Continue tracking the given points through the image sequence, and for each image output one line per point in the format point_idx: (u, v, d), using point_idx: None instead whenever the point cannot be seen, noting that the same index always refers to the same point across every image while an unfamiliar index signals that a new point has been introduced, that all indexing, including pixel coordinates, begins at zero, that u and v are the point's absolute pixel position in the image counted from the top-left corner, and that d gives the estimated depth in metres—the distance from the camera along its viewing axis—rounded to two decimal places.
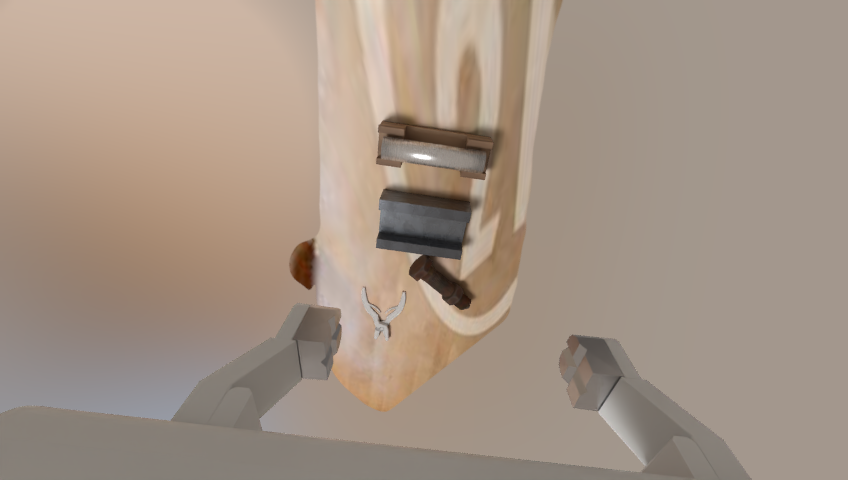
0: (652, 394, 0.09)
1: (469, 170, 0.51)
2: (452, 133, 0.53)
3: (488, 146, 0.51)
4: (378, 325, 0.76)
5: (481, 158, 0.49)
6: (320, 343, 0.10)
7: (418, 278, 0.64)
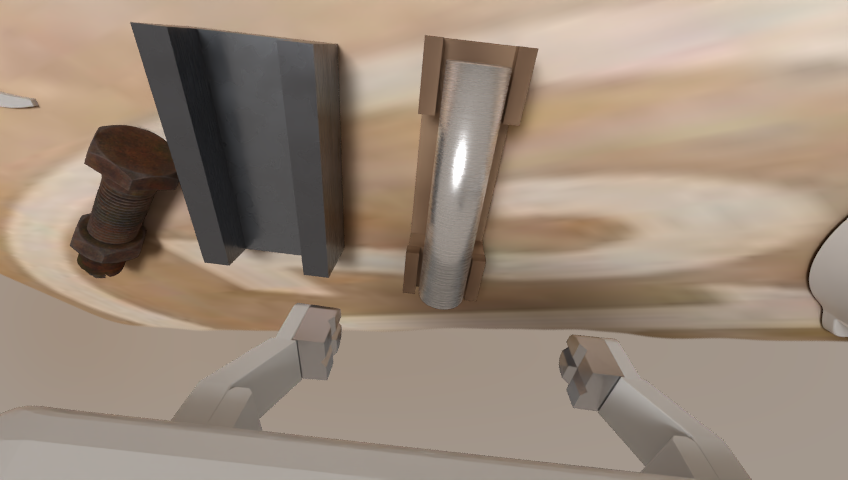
0: (652, 394, 0.09)
1: (427, 281, 0.23)
2: (486, 215, 0.26)
3: (470, 294, 0.26)
4: None
5: (455, 300, 0.24)
6: (320, 343, 0.10)
7: (95, 166, 0.22)
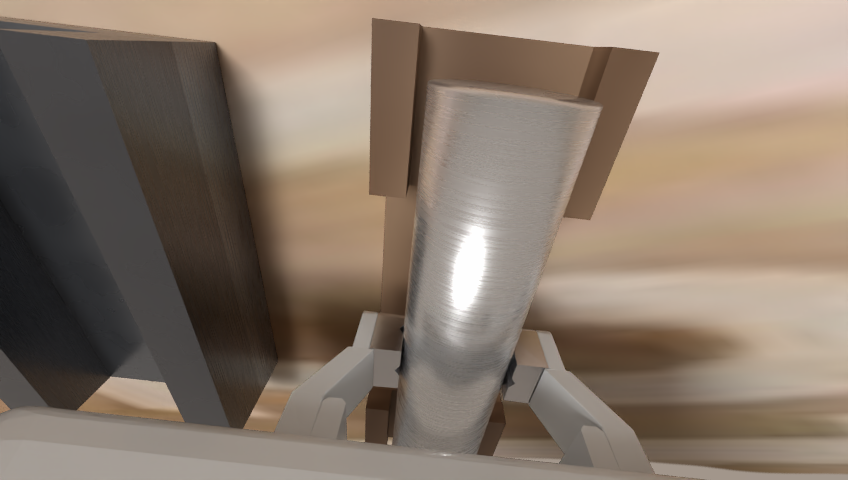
0: (572, 385, 0.09)
1: None
2: None
3: None
4: None
5: None
6: (397, 352, 0.10)
7: None
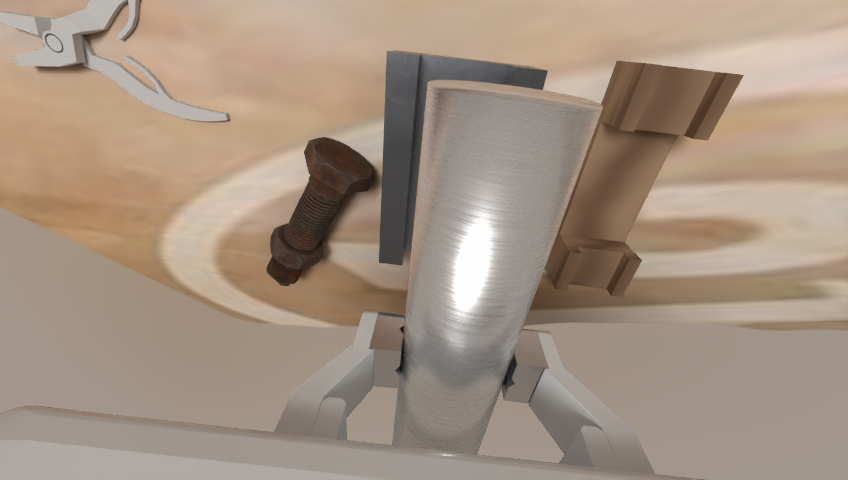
0: (572, 385, 0.09)
1: None
2: (633, 218, 0.29)
3: (618, 290, 0.29)
4: (64, 32, 0.23)
5: None
6: (397, 352, 0.10)
7: (318, 175, 0.24)
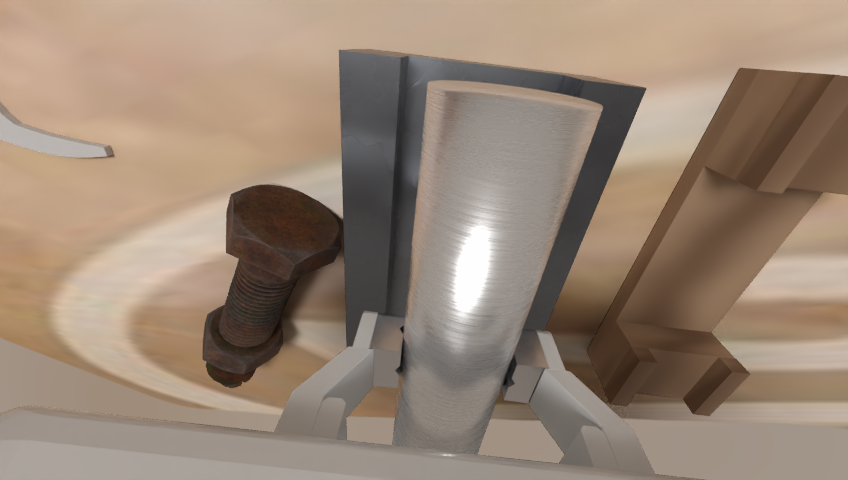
0: (572, 385, 0.09)
1: None
2: (730, 302, 0.19)
3: (705, 408, 0.19)
4: None
5: None
6: (397, 352, 0.10)
7: (242, 254, 0.14)
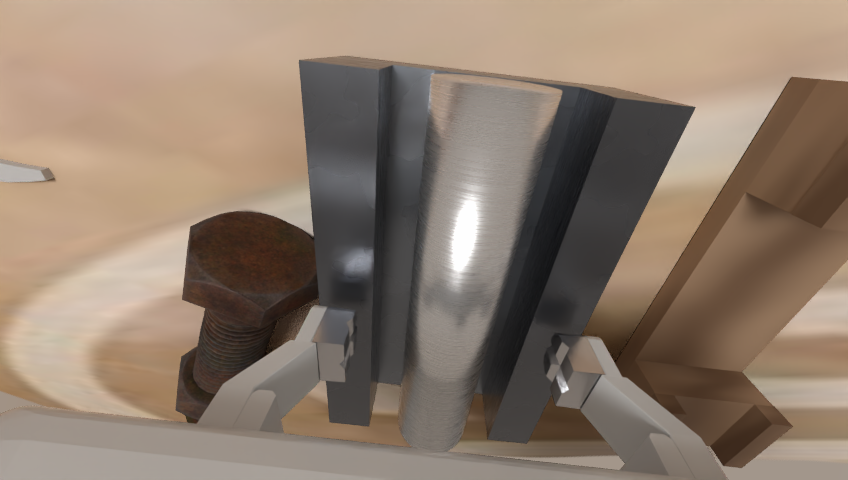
0: (632, 391, 0.09)
1: (410, 417, 0.15)
2: (765, 340, 0.17)
3: (737, 460, 0.17)
4: None
5: (453, 440, 0.15)
6: (340, 345, 0.10)
7: (201, 301, 0.12)
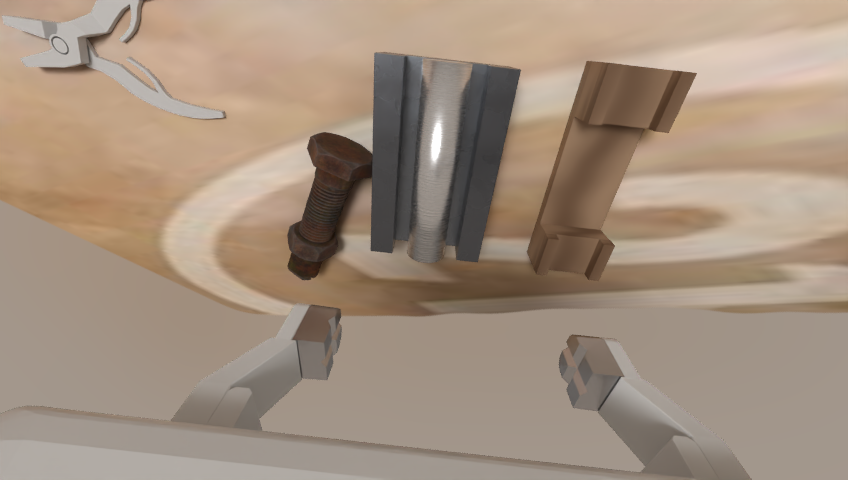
0: (652, 394, 0.09)
1: (414, 239, 0.29)
2: (608, 207, 0.31)
3: (594, 274, 0.31)
4: (70, 35, 0.25)
5: (436, 255, 0.29)
6: (320, 343, 0.10)
7: (322, 166, 0.26)
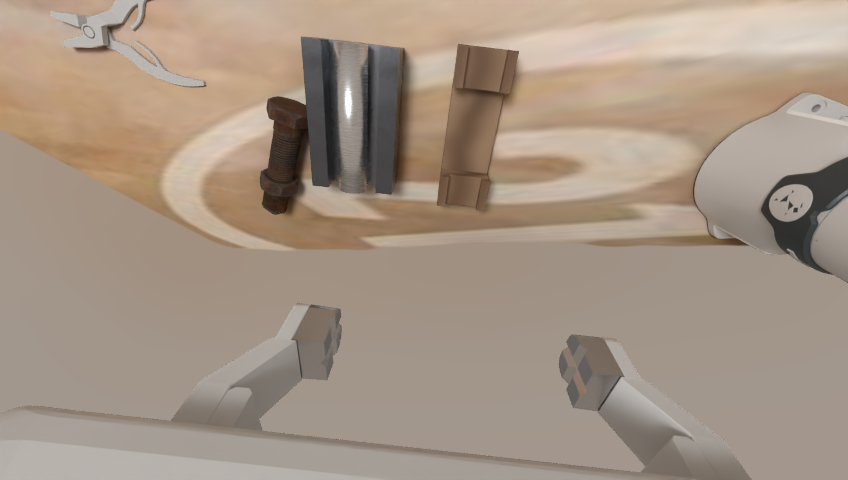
0: (652, 394, 0.09)
1: (340, 174, 0.40)
2: (489, 155, 0.41)
3: (479, 205, 0.42)
4: (96, 25, 0.36)
5: (357, 187, 0.40)
6: (320, 343, 0.10)
7: (275, 117, 0.37)
